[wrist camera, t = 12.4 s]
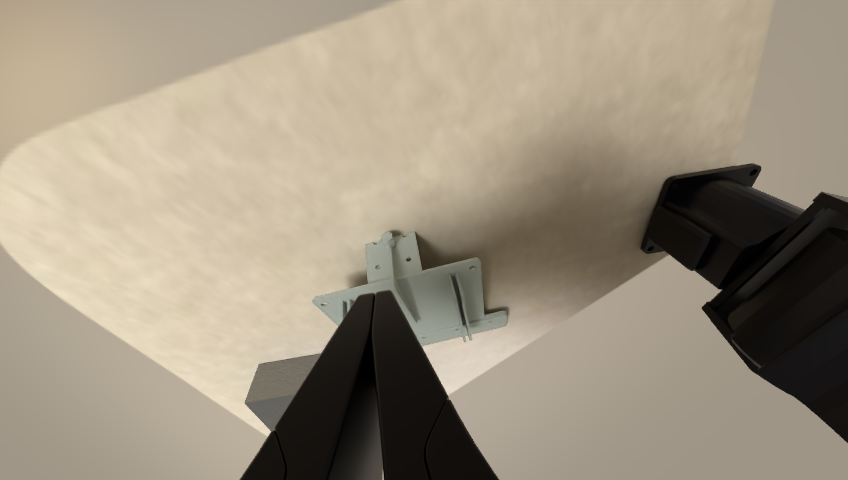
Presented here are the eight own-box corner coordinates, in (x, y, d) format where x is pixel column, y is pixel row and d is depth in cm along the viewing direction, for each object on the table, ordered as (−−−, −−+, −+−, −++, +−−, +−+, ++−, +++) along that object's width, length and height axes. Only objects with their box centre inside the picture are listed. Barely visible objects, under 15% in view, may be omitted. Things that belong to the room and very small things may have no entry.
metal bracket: (268, 330, 17) (524, 267, 17) (281, 250, 21) (492, 196, 20) (357, 383, 29) (511, 347, 28) (355, 325, 32) (492, 292, 31)
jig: (367, 345, 28) (365, 382, 25) (384, 390, 32) (384, 425, 29) (258, 364, 27) (244, 403, 25) (291, 406, 32) (282, 443, 29)
